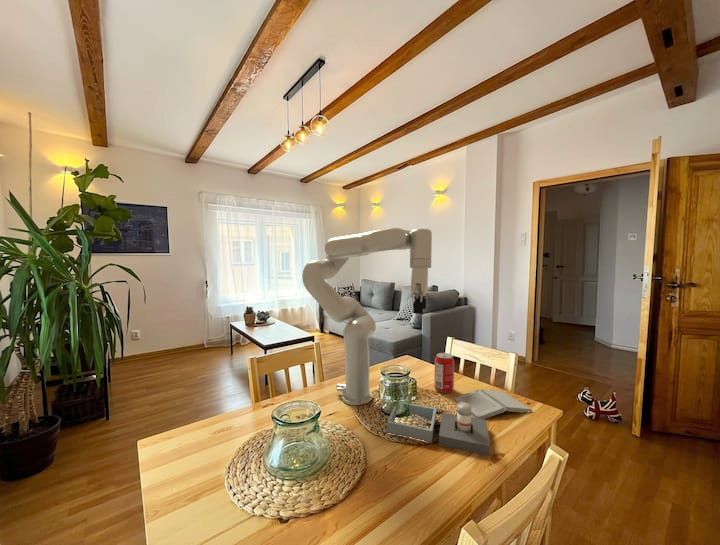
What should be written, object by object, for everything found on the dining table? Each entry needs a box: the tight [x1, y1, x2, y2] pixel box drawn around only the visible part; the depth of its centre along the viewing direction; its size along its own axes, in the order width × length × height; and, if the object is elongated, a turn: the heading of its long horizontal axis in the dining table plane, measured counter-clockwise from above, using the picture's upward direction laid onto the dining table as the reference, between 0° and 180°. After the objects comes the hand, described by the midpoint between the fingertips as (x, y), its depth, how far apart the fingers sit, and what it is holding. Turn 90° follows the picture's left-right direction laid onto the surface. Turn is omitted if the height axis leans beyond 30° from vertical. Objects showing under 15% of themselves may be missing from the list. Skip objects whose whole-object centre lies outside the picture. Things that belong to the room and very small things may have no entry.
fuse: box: [456, 403, 472, 434], centre depth 93 cm, size 4×4×10 cm
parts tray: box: [386, 403, 437, 444], centre depth 98 cm, size 14×14×4 cm
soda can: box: [433, 352, 455, 394], centre depth 125 cm, size 8×8×15 cm
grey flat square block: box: [438, 411, 491, 457], centre depth 93 cm, size 14×14×3 cm
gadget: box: [453, 388, 532, 420], centre depth 112 cm, size 23×15×4 cm, turn 104°
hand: (419, 310), depth 107 cm, fingers open, 9 cm apart
